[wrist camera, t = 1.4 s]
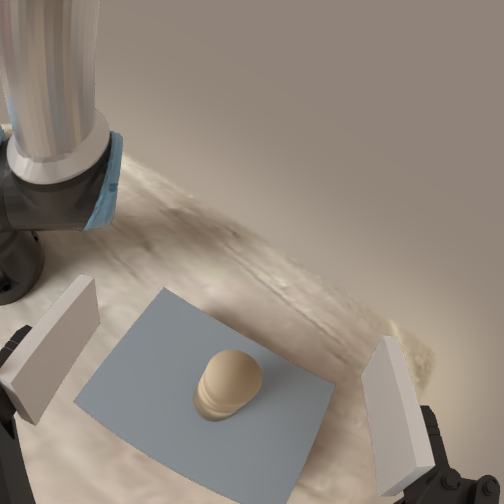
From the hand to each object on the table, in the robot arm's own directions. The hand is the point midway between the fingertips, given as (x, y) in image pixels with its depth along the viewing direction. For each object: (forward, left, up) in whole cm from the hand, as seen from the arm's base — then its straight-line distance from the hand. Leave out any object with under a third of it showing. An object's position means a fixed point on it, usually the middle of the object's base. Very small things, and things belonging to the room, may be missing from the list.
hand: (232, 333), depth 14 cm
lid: (+2, +2, -21) cm, 22 cm away
